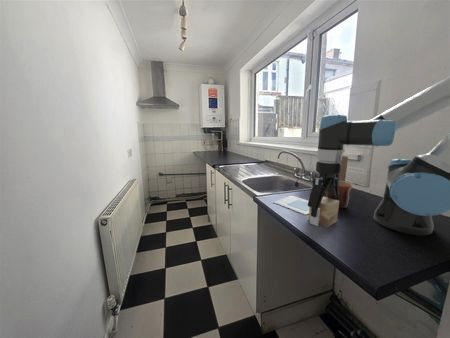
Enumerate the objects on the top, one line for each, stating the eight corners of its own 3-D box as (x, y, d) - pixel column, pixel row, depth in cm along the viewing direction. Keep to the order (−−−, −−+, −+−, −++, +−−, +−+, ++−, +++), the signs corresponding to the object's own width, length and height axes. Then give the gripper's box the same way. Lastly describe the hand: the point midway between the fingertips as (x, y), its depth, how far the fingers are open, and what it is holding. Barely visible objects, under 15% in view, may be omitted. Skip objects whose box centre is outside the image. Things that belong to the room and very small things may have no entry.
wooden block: (334, 188, 105) (339, 153, 101) (344, 194, 95) (349, 156, 91) (316, 188, 106) (319, 153, 102) (323, 194, 96) (327, 155, 92)
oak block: (336, 221, 68) (339, 200, 66) (327, 227, 64) (330, 205, 62) (318, 214, 73) (319, 195, 72) (308, 219, 69) (310, 199, 68)
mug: (335, 200, 87) (338, 179, 85) (354, 208, 79) (357, 185, 77) (316, 204, 83) (318, 182, 81) (334, 212, 75) (337, 188, 73)
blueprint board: (323, 206, 81) (323, 205, 81) (305, 215, 73) (305, 214, 73) (291, 196, 93) (291, 195, 93) (273, 202, 85) (273, 201, 85)
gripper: (332, 157, 74) (327, 208, 78) (299, 163, 60) (294, 225, 65) (354, 159, 68) (346, 214, 72) (322, 167, 54) (315, 234, 59)
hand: (322, 219), depth 69 cm, fingers open, 11 cm apart
